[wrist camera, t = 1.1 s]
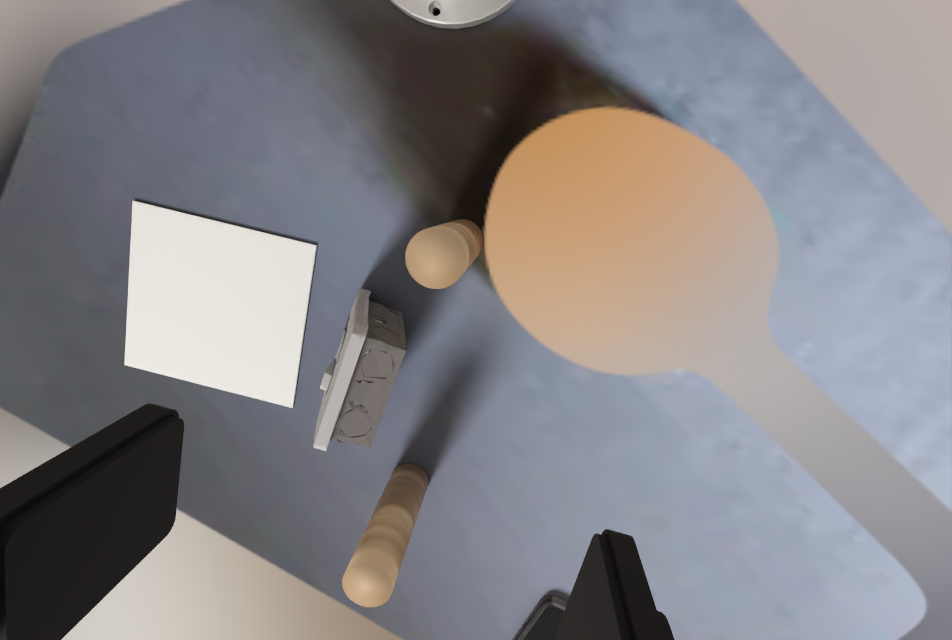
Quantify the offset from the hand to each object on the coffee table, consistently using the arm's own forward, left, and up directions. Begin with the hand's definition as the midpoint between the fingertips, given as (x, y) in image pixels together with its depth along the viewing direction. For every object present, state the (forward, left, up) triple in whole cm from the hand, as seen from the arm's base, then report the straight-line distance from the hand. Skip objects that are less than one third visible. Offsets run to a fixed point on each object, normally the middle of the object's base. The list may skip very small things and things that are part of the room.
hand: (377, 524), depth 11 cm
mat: (+6, -21, -28) cm, 35 cm away
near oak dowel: (-4, -2, -28) cm, 28 cm away
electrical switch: (+6, -7, -28) cm, 30 cm away
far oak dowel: (+17, -2, -28) cm, 33 cm away
